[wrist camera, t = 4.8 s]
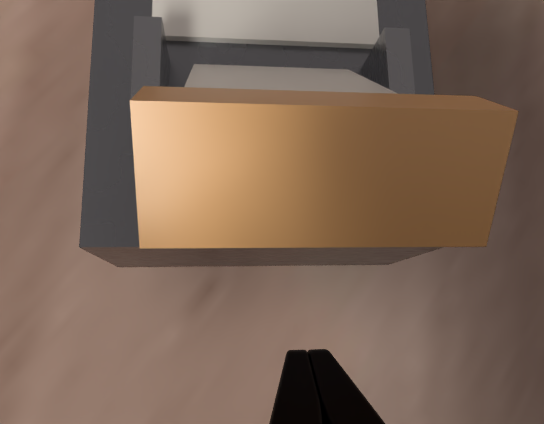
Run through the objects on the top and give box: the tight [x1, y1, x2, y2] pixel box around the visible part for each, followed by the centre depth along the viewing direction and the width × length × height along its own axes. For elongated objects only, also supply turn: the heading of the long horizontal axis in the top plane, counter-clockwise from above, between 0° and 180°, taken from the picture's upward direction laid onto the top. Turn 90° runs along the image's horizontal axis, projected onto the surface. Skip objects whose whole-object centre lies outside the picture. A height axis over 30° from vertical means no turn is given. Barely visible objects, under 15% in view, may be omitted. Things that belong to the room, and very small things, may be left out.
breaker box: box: [79, 0, 443, 267], centre depth 19 cm, size 10×12×8 cm
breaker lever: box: [130, 64, 519, 249], centre depth 12 cm, size 2×6×9 cm
